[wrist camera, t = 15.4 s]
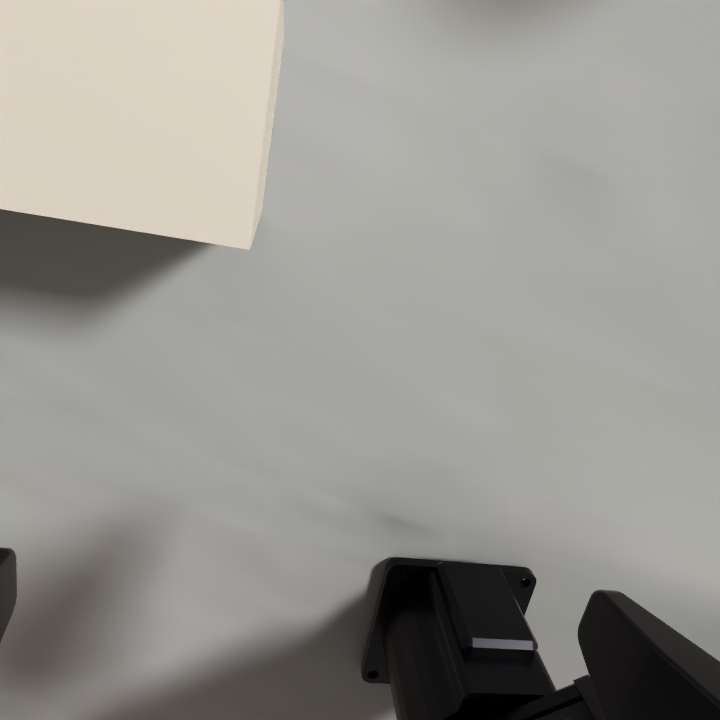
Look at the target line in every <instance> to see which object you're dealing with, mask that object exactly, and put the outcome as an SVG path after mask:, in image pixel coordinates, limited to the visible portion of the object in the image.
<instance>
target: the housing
mask: <svg viewBox="0 0 720 720" xmlns="http://www.w3.org/2000/svg"><path fill="white" fill-rule="evenodd" d="M283 42H284V17H283V0H0V209H3V210H10V211H16V212H22V213H28V214H34V215H40V216H46V217H52V218H58V219H65V220H71V221H77V222H83V223H89V224H95V225H101V226H107V227H114V228H120V229H126V230H132V231H138V232H144V233H150V234H156V235H163V236H169V237H175V238H181V239H187V240H193V241H199V242H205V243H211V244H218V245H224V246H230V247H236V248H242V249H248V250H250V247H251V244H252V241H253V238H254V235H255V232H256V229H257V226H258V223H259V219H260V216H261V213H262V208H263V200H264V192H265V184H266V176H267V168H268V160H269V152H270V144H271V137H272V129H273V121H274V113H275V105H276V97H277V89H278V81H279V73H280V65H281V58H282V50H283Z"/></svg>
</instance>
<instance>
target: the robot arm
mask: <svg viewBox="0 0 720 720" xmlns="http://www.w3.org/2000/svg"><path fill="white" fill-rule="evenodd" d="M400 569H401V570H402V571H401V572H397V573H396V572H395V571H396V570H400ZM522 579H525V580H523V581H521V580H522ZM535 585H536V579H535V576H534V575H533V573H532V571H531V570H530V569H529V568H525V567H514V566H501V565H488V564H475V563H461V562H448V561H435V560H422V559H409V558H395V559H392V560H391V561H389V562H388V563H387V565H386V568H385V572H384V576H383V580H382V584H381V588H380V592H379V596H378V600H377V604H376V608H375V612H374V616H373V620H372V624H371V628H370V632H369V636H368V640H367V644H366V648H365V652H364V656H363V660H362V664H361V673H362V678H363V680H364V681H366V682H369V683H387V684H390V686H391V691H392V696H393V702H394V707H395V713H396V718H397V720H720V661H718V660H717V659H715V658H714V657H712V656H711V655H710V654H708V653H707V652H705V651H704V650H703V649H701V648H700V647H698V646H697V645H695V644H694V643H693V642H691V641H690V640H688V639H687V638H685V637H684V636H683V635H681V634H680V633H678V632H677V631H676V630H674V629H673V628H671V627H670V626H668V625H667V624H666V623H664V622H663V621H661V620H660V619H658V618H657V617H656V616H654V615H653V614H651V613H650V612H648V611H647V610H646V609H644V608H643V607H641V606H640V605H639V604H637V603H636V602H634V601H633V600H631V599H630V598H629V597H627V596H626V595H624V594H623V593H621V592H618V591H611V590H597V591H595V592H594V593H593V594H592V595H591V597H590V599H589V602H588V604H587V607H586V609H585V612H584V614H583V617H582V619H581V621H580V624H579V627H578V640H579V644H580V648H581V651H582V654H583V657H584V660H585V663H586V666H587V669H588V672H589V675H586V676H583V677H581V678H578V679H576V680H573V681H574V684H572V685H569V686H567V687H564V688H562V689H559V690H556V688H555V686H554V684H553V682H552V680H551V678H550V676H549V674H548V672H547V670H546V668H545V665H544V663H543V661H542V659H541V657H540V655H539V653H538V651H537V648H538V644H537V642H536V639H535V637H534V635H533V633H532V631H531V629H530V627H529V625H528V623H527V621H526V619H525V617H524V615H525V612H526V610H527V607H528V604H529V601H530V599H531V596H532V593H533V590H534V588H535ZM16 597H17V575H16V555H15V552H14V551H13V550H12V549H10V548H0V642H1V640H2V637H3V635H4V632H5V630H6V628H7V625H8V623H9V620H10V618H11V615H12V613H13V610H14V607H15V603H16ZM372 670H374V671H372ZM589 676H590V677H589Z"/></svg>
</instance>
